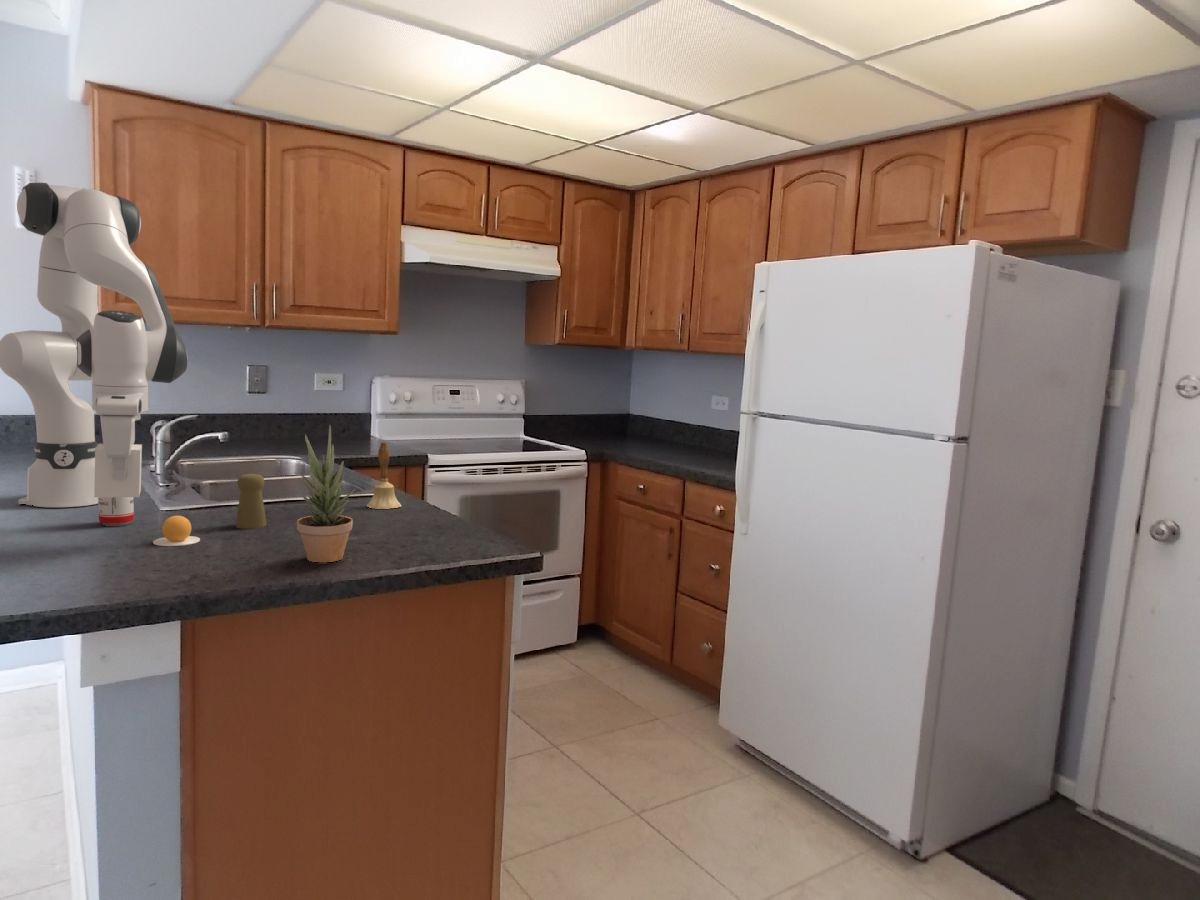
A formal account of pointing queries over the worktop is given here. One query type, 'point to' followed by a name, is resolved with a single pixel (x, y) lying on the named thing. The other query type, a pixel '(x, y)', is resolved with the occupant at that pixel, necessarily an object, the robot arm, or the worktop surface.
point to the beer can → (115, 510)
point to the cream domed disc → (167, 542)
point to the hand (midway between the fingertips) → (121, 475)
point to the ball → (176, 528)
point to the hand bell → (384, 484)
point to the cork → (251, 502)
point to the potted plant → (324, 510)
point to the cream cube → (105, 474)
